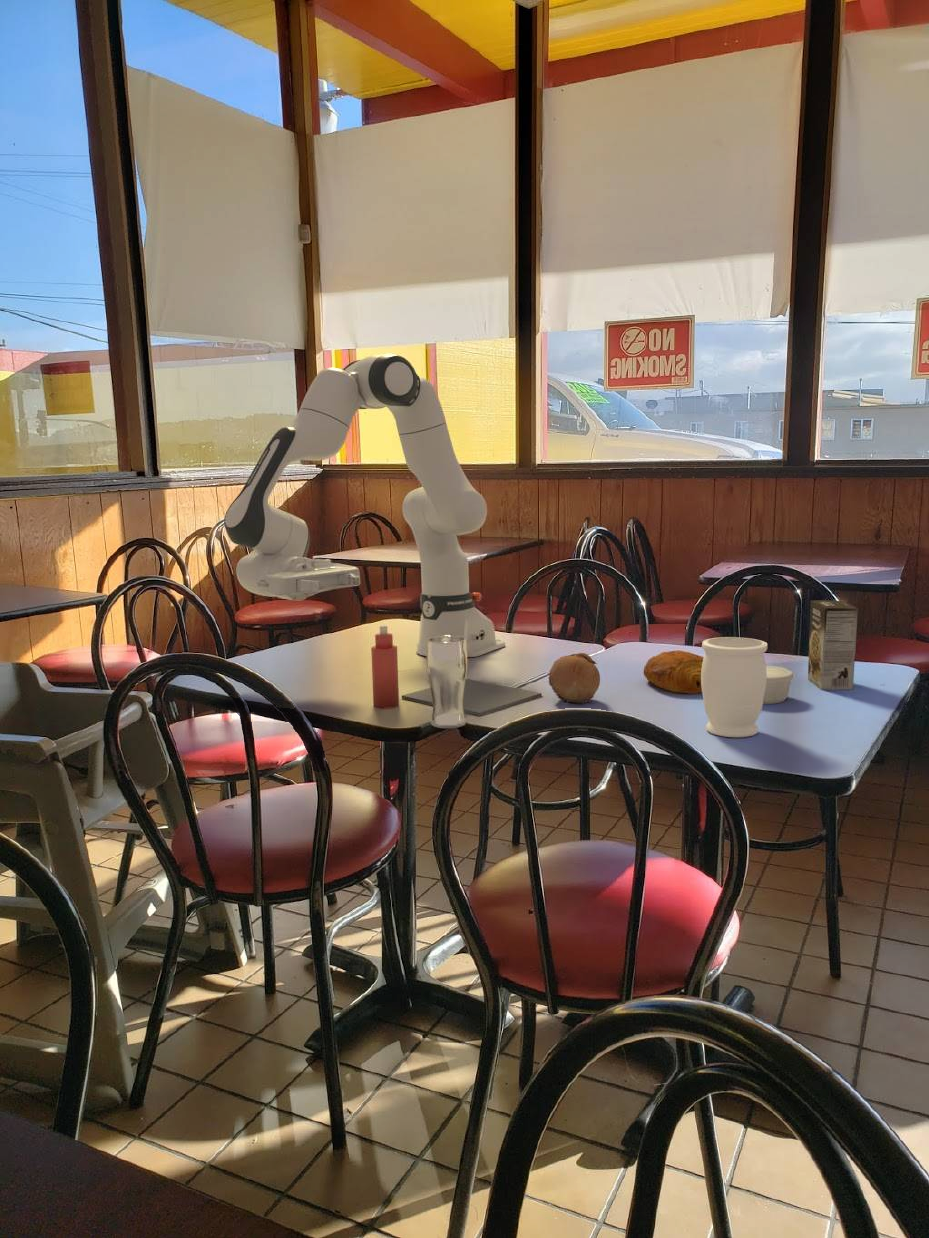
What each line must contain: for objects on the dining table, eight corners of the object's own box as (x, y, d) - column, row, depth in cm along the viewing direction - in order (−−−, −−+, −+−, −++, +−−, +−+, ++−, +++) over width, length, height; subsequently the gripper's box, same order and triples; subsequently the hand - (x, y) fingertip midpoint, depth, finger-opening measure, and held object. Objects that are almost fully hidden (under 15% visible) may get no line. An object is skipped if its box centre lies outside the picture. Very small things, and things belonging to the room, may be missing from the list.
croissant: (665, 708, 181) (667, 669, 179) (633, 679, 195) (635, 642, 193) (734, 700, 184) (738, 662, 182) (698, 672, 198) (700, 636, 196)
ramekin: (716, 697, 180) (717, 670, 179) (753, 688, 186) (754, 661, 185) (766, 709, 171) (767, 680, 170) (803, 699, 177) (805, 671, 176)
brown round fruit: (587, 712, 182) (606, 663, 183) (590, 712, 173) (610, 660, 173) (540, 693, 183) (559, 645, 184) (541, 692, 174) (561, 641, 174)
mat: (464, 681, 196) (464, 678, 196) (541, 696, 183) (541, 693, 183) (401, 698, 183) (401, 695, 183) (479, 715, 170) (479, 712, 170)
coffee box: (806, 679, 192) (809, 600, 189) (838, 678, 192) (842, 599, 189) (820, 690, 183) (823, 607, 180) (854, 689, 183) (858, 606, 180)
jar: (701, 720, 164) (703, 635, 162) (764, 724, 161) (767, 637, 159) (698, 738, 154) (700, 647, 152) (765, 742, 151) (768, 649, 149)
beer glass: (464, 730, 161) (462, 643, 159) (424, 728, 163) (421, 642, 160) (472, 718, 168) (470, 635, 166) (433, 717, 170) (431, 634, 167)
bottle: (386, 700, 182) (384, 623, 180) (404, 704, 179) (401, 625, 176) (368, 705, 179) (365, 626, 176) (385, 709, 176) (382, 629, 173)
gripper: (250, 567, 184) (295, 572, 175) (332, 558, 199) (377, 562, 190) (252, 599, 185) (296, 606, 176) (333, 588, 200) (378, 593, 191)
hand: (339, 583), depth 183 cm, fingers open, 8 cm apart
